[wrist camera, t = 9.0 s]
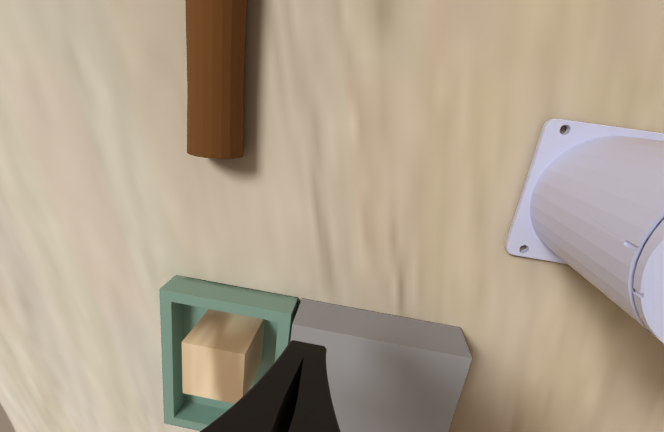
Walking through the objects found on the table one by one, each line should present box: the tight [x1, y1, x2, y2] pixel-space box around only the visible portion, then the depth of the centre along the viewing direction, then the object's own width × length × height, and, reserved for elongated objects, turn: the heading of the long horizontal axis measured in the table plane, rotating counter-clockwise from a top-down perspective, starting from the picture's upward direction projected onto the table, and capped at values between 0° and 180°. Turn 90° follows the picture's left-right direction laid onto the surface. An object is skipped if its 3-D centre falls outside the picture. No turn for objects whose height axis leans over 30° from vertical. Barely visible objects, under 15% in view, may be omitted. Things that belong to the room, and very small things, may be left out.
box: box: [160, 275, 298, 431], centre depth 25 cm, size 9×12×2 cm
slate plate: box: [290, 298, 472, 432], centre depth 24 cm, size 11×12×3 cm
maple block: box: [182, 309, 265, 404], centre depth 23 cm, size 4×4×4 cm
